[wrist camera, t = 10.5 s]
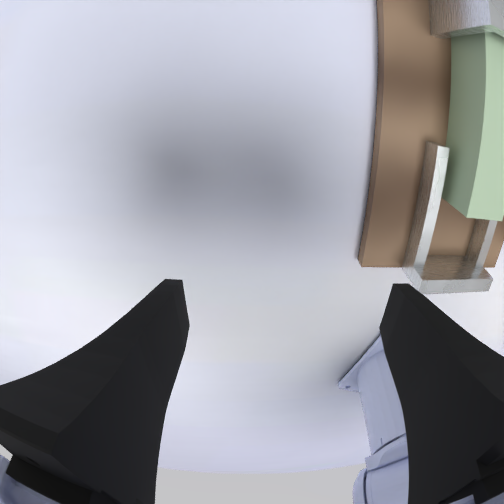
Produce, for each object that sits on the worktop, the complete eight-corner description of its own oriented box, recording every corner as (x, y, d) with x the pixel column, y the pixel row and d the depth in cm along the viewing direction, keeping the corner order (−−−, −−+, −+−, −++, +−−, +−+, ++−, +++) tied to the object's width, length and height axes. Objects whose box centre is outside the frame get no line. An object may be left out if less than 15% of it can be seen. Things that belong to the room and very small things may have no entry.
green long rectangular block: (472, 198, 16) (502, 221, 13) (437, 194, 16) (466, 217, 13) (484, 12, 10) (518, 7, 7) (447, -4, 10) (479, -15, 7)
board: (488, 260, 19) (494, 267, 19) (357, 259, 20) (361, 266, 19) (515, -4, 9) (523, -6, 8) (370, -64, 9) (374, -71, 8)
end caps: (468, 267, 19) (507, 317, 14) (401, 267, 19) (435, 325, 14) (495, -23, 8) (548, -35, 3) (420, -57, 8) (466, -89, 3)
